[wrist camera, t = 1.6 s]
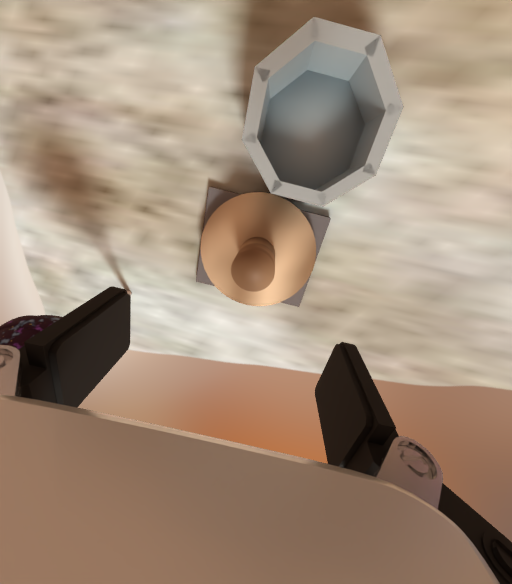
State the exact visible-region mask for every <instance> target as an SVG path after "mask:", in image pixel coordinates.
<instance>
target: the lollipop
mask: <svg viewBox="0 0 512 584" xmlns="http://www.w3.org/2000/svg"><path fill="white" fill-rule="evenodd" d="M127 294H130V295H131V294H132V293H131V291H127ZM61 318H62V317H59V316H53V315H41V316H22V317H18V318H15V319H12V320H10V321H8V322H6V323H5V324H3V325H1V326H0V345H9V346H12V347H15V348H17V349H20V348H21V347H23V346H24V345H25V344H24V342H25V341H26V340H28V339H29V338H31V337H33V336H34V335H36V334H37V333H39V332H40V331H42V330H44V329H45V328H47V327H48V326H50V325H51V324H53V323H54V322H56V321H58V320H59V319H61Z"/></svg>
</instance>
